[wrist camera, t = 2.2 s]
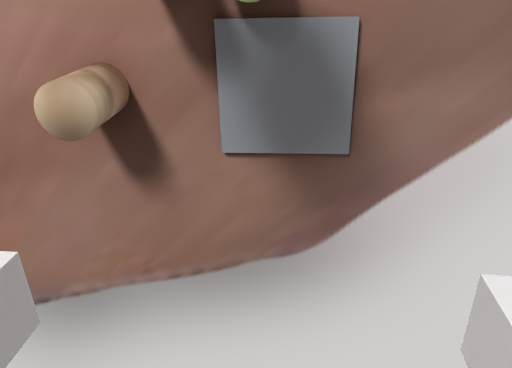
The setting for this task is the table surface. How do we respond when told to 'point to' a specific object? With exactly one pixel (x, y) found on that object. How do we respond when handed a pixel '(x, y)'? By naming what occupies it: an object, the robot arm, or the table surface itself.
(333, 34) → the coaster
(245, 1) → the lime
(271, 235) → the table surface
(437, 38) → the table surface
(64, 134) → the cork
